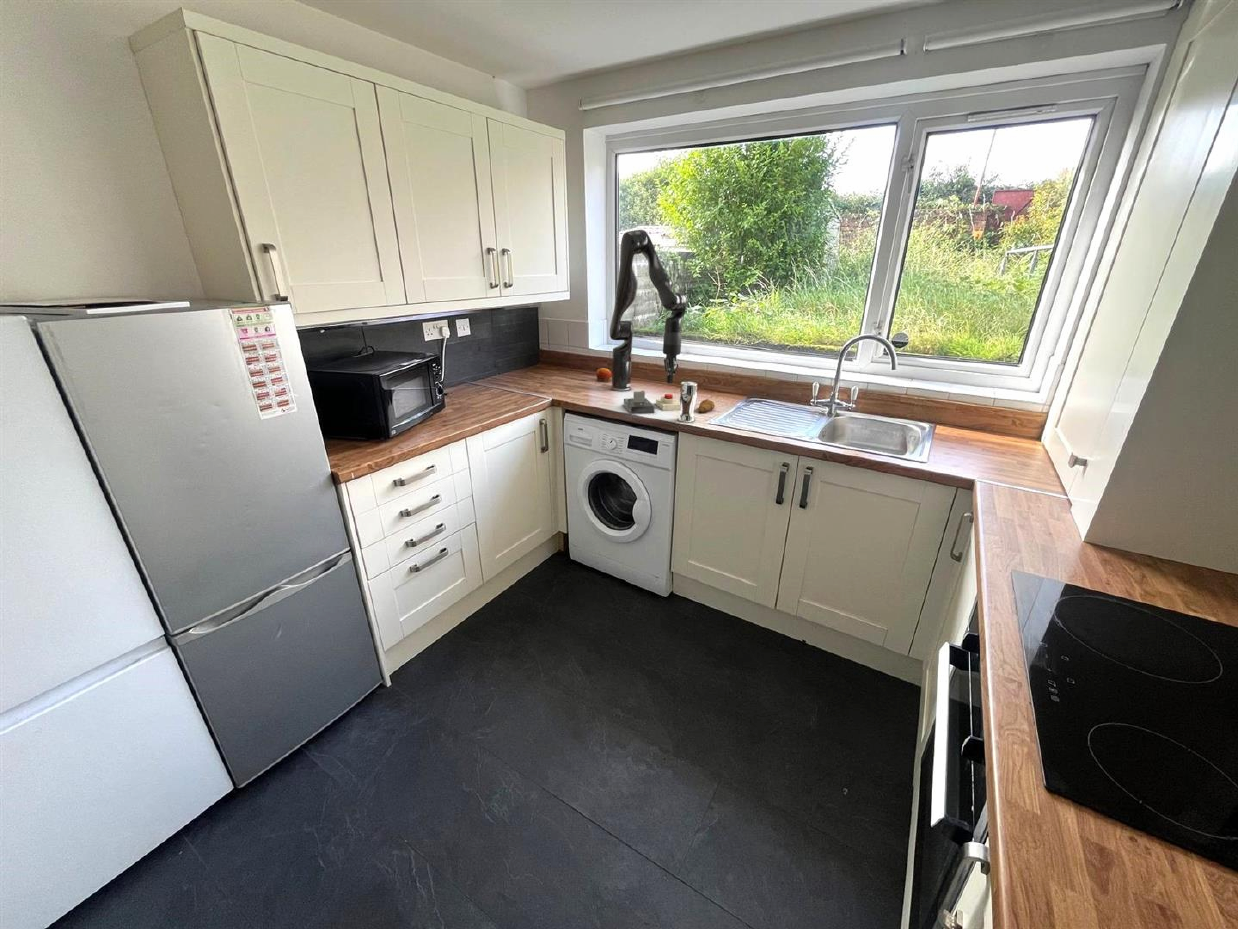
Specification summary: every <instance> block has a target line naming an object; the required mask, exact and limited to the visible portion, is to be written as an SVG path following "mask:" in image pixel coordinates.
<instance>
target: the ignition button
mask: <svg viewBox="0 0 1238 929" xmlns="http://www.w3.org/2000/svg"><path fill="white" fill-rule="evenodd" d="M663 396H664V398H665V399H673V397H674V395H673V394H672V393H665V394H664V395H663Z"/></svg>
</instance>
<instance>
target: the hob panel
mask: <svg viewBox="0 0 1238 929" xmlns="http://www.w3.org/2000/svg"><path fill="white" fill-rule="evenodd" d="M623 406H624V408H625V409H626V410H627V411H628V412H629V413H630V414H632V415H634V414H654V413H655V405H654V404H653V403H652V402H651V401H650V400H648V399H647V397H645V398H644V402H641V403H634V402H633V397H632V398H623Z"/></svg>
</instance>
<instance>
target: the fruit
mask: <svg viewBox="0 0 1238 929" xmlns="http://www.w3.org/2000/svg"><path fill="white" fill-rule="evenodd" d="M595 374H596V379H597V381H598V382H605V383H607V382H608V381H609V380H610V379H611V378H612V371H611V370H610V369H608V368H607V367H606V368H605V367H601V368H599V369H597V370H596V373H595Z"/></svg>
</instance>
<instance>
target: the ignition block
mask: <svg viewBox="0 0 1238 929" xmlns="http://www.w3.org/2000/svg"><path fill="white" fill-rule="evenodd" d="M664 396H665V395H663V396H661V397H660V398H656V399H655V405H656V406H657V407H658V408H660V409H661V410H662V411H678V410H680V402H678V401H677V397H675V396H673V399H665V398H664Z"/></svg>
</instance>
